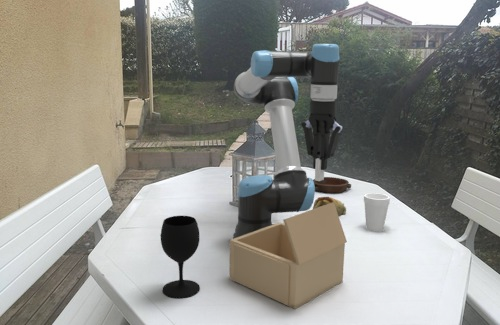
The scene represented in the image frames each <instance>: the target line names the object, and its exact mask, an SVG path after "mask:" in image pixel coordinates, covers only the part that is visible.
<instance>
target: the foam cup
mask: <svg viewBox="0 0 500 325" xmlns="http://www.w3.org/2000/svg"><path fill="white" fill-rule="evenodd" d="M390 199H391V197H390V196H389V195H387V194H385V193H379V192H378V193H376V192H370V193H365V194H364V195H363V203H364V214H365V226H366V227H365V228H366V230H367V231H370V232H373V233H376V232H377V233H380V232H382V231H384V229H385V228H384V227H385V223H386V218H387V213H388V209H389V205H390Z"/></svg>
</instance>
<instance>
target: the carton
mask: <svg viewBox="0 0 500 325" xmlns="http://www.w3.org/2000/svg"><path fill="white" fill-rule="evenodd" d="M345 247H346V243H344V244H342V245H340V246H338V247H336V248H334V249H332V250H329V251H327V252H325V253H323V254H321V255H319V256H317V257H315V258H313V259H311V260H309V261H306V262H304V263H302V264H300V265H297V262H296V259H295V256H294V253H293V250H292V246H291V243H290V240H289V237H288V234H287V230H286V227H285V224H284V222H277V223H274V224H273V223H272V225H271V226H268V227H265V228H262V229H259V230H257V231H254V232H251V233H248V234H245V235H243V236H240V237H237V238H234V239H233V238H232V239H229V271H228V272H229V276H228V277H229V279H230V280H231V281H234V282H236V283H237V284H239V285H242V286H245V287H246V288H249V289H250V290H253V291H255V292H256V293H257V292H258V293H259V294H261V295H264V296H265V297H267V298H270V299H272V300H275V301H276V302H279V303H281V304H283V305H286V306H288V307H289V308H292V309H294V310H296V309H298V308H300V307H301V306H304V305H305V304H307V303H309V302H310V301H312V300H314V299H315V298H317V297H319V296H320V295H322V294H324V293H325V292H327V291H329V290H331V289H333V288H335V287H337V285H339V284H341V283H343V281H344V266H345V265H344V264H345Z"/></svg>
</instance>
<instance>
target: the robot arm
mask: <svg viewBox="0 0 500 325" xmlns="http://www.w3.org/2000/svg"><path fill="white" fill-rule="evenodd" d="M311 48H312V50H311V51H308V50H307V51H295V50H294V51H293V50H288V51H287V50H267V49H264V50H255V51H254V52H253V53H252V55H251V59H250V67H249V69H247V71H243V72H241V73H240V74H239V75H238V76H237V77H236V78H235V80H234V82H233V90H234V93H235V96H237V97H238V98H239V99H240V100H241V101H242V102H245V103H246V104H250V105H263V108H264V110H265V112H266V113H268V114H269V121H270V127H271V128H270V129H271V135H272V142H273V143H272V144H273V149H274V157H275V163H276V171H277V172H276V173H274V175H273V177H272V176H271V175H269V174H258V175H257V174H256V175H251V176H247V177H245V178H243V179H241V180H240V181H239V184H238V190H237V198H238V199H237V201H238V202H237V203H238V204H237V206H238V207H237V208H238V209H237V210H238V211H237V216H238V217H237V218H238V219H237V224H236V227H235V229H234V232H233V236H232V239H234V238H237V237H240V236H243V235H245V234H248V233H251V232H254V231H257V230H259V229H262V228H265V227H268V226H271V225H273V222H272V216H273V215H272V214H280V213H283V214H284V213H300V212H307V211H310V210H311V208H312V206H313V205H314V202H315V201H314V199H315V194H316V190H315V186H314V182H313V180H314V179H315V181H321V180H324V177H325V170H327V168H328V160H329V159H330V158H334V156H335V152H336V149H337V145H338V141H339V139H340V134H341V133H342V131H343V130H344V126H343V125H340V124H339V123H338V121H337V118H336V114H337V101H336V99H337V98H338V81H339V78H338V77H339V64H340V47H339V45H338V44H336V43H315V44H313V46H312V47H311ZM296 78H310V93H309V95H310V96H309V98H310V99H311V100H310V101H309V117H308V119H307V120H306V121H303V122H301V123H300V124H301V127H302V130H303V133H304V140H305V146H306V151H307V155H308V156H311V157H312V159H313V160H312V161H313V162H312V163H313V164H312V165H313V166H312V168H313V169H314V179H313V178H311V177H308V175H307V171H306V170H304V169H303V168H302V166H301V159H300V153H299V147H298V140H297V133H296V128H295V127H296V126H295V122H294V115H293V109H294V108H295V106H296V103H297V102H298V100H299V87H298V86H299V85H298V82H297V79H296ZM331 130H332V133H331ZM330 135H331V136H330Z"/></svg>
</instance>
